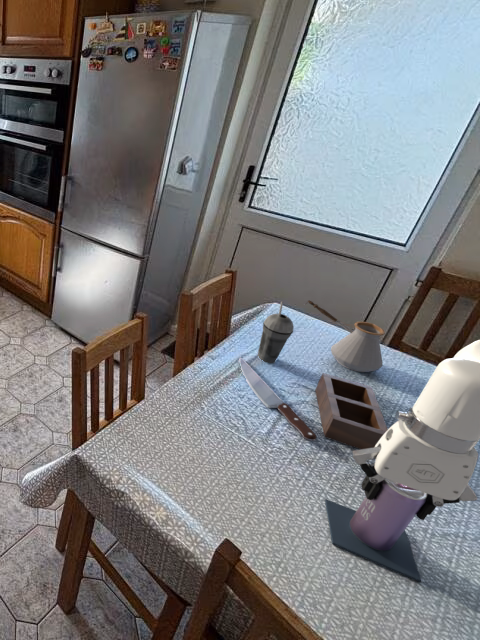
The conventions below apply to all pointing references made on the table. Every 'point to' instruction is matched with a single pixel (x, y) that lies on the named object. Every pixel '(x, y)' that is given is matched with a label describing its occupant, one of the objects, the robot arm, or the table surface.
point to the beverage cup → (274, 336)
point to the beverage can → (386, 514)
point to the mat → (344, 538)
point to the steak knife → (274, 401)
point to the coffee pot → (357, 345)
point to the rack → (349, 412)
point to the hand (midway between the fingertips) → (392, 502)
